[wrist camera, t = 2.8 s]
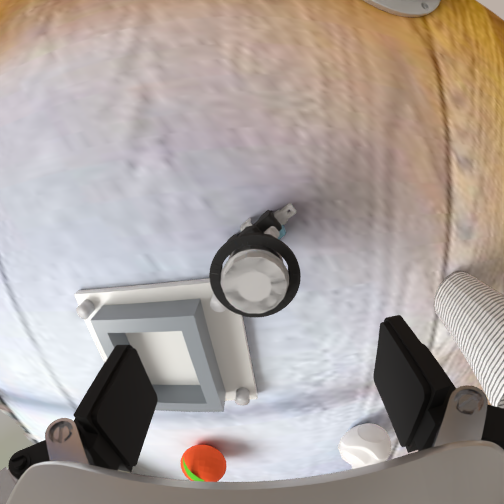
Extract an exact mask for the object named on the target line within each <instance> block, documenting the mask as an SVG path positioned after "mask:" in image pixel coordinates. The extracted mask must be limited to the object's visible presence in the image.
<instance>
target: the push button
mask: <svg viewBox="0 0 504 504" xmlns="http://www.w3.org/2000/svg"><path fill="white" fill-rule="evenodd" d="M288 210H291V211H290V212H287V211H288ZM296 212H297V211H296V210H295V208H294V207H293V206H292V204H291V203H289V204H287V205H286V206H285V207H284V208H282V209H281V210H279V209H278V210H277V211H276V212H274V213H273V212H272V211H269V210H268V211H266V212H265V213H264V214H263V215H262V216H261V217H260V218H259V220H258V221H257V222H256V223H255V224H254V225H252V223H251V218H250V219H248V220H247V221H246V222H244V223H243V224H242V225H241V227H240V231H241V233H240V234H239V236H237V235H236V234H234V235H233V236H232V237H231V238H229V239H228V241H227V243H225V244H224V245H223V246H222V247H221V248H220V249H219V250H218V252H217V253H216V255H215V257H214V259H213V261H212V264H211V267H210V284H211V288H212V291H213V293H214V295H215V296H216V298H217V299H218V300H219V302H220V303H221V304H222V305H223V306H225V307H226V308H227V309H229V310H230V311H232V312H234V313H236V314H239V315H242V316H246V317H264V316H269V315H272V314H274V313H277V312H278V311H280V310H282V309H283V308H285V307H286V306H287V305H288V304H289V303H290V302H291V301H292V300H293V298H294V297H295V295H296V293H297V291H298V288H299V285H300V268H299V265H298V261H297V259H296V257H295V255H294V253H293V252H292V251H291V249H290V248H289V247H288V246H287V245H286V244H284V243H283V242H282V241H280V240H279V239H281V238H282V237H283V236H284V235H285V234H286V231H285V228H284V224H286V223H287V222H288V221H287V220H288V219H289V218H290V217H292V216H293V215H294V214H296ZM229 255H230V257H229V259H228V261H227V262H226V264H225V266H224V268H223V269H222V264H223V262H224V260H225V259H226V258H227V257H228V256H229ZM282 257H283V258H284V259H285V261H286V262H287V264H288V270H287V269H286V267H285V265H284V264H283V260H282Z"/></svg>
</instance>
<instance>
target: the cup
mask: <svg viewBox="0 0 504 504" xmlns="http://www.w3.org/2000/svg"><path fill="white" fill-rule="evenodd" d="M434 308H435V312H436V314H437V315H438V317H439V318H440V319H441V321H442V322H443V324H444V325H445V327H446V328H447V330H448V331H449V333H450V334H451V336H452V338H453V339H454V341H455V342H456V344H457V345H458V347H459V349H460V350H461V352H462V353H463V355H464V357H465V358H466V360H467V362H468V363H469V365H470V367H471V368H472V370H473V372H474V374H475V375H476V377H477V379H478V381H479V382H480V384H481V386H482V388H483V390H484V392H485V393H486V395H487V397H488V399H489V401H490V403H491V405H492V406H496V407H500V408H504V295H502V294H501V293H499V292H498V291H496V290H494V289H493V288H491V287H490V286H488V285H486V284H485V283H483V282H481V281H480V280H478V279H476V278H475V277H473V276H471V275H470V274H468V273H465V272H462V271H459V272H455V273H452V274H451V275H449V276H448V277H447V278H445V280H444V281H443V282H442V283H441V284H440V286H439V288H438V290H437V292H436V294H435V298H434Z"/></svg>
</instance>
